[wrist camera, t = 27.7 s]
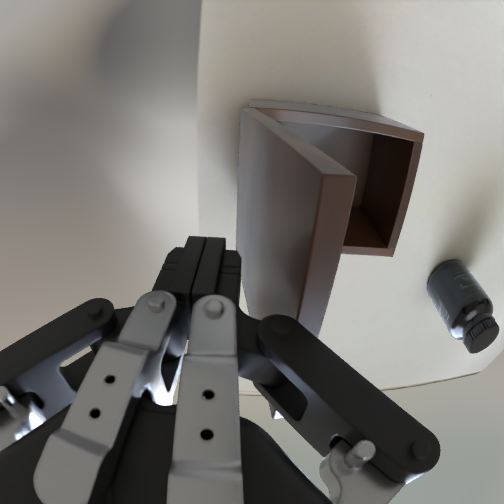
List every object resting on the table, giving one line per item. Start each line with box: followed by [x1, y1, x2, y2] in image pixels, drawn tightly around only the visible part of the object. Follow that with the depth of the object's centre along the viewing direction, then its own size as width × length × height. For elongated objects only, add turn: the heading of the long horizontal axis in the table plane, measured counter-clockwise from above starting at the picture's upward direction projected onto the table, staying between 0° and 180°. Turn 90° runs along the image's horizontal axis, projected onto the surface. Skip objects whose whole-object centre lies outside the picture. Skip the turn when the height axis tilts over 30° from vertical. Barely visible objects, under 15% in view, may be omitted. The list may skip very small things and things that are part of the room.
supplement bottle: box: [427, 260, 499, 353], centre depth 30 cm, size 7×7×12 cm
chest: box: [248, 99, 424, 257], centre depth 24 cm, size 13×11×9 cm
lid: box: [236, 107, 357, 419], centre depth 14 cm, size 13×11×1 cm
